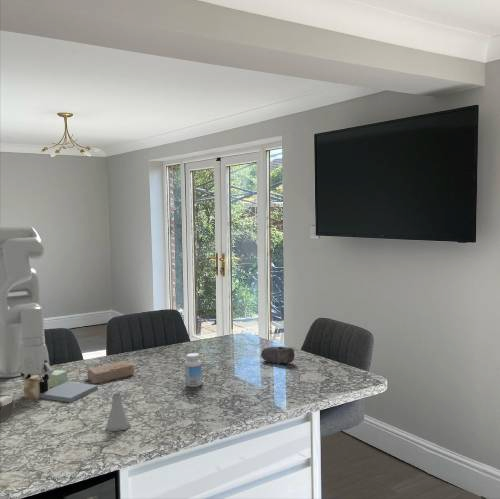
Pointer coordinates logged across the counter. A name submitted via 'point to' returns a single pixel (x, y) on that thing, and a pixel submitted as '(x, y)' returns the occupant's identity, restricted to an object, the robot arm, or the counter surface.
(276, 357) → the perforated stone tool
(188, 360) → the pill bottle
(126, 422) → the flask
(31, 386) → the beech block
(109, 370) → the brick
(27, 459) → the counter surface
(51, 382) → the sage block
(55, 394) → the board
